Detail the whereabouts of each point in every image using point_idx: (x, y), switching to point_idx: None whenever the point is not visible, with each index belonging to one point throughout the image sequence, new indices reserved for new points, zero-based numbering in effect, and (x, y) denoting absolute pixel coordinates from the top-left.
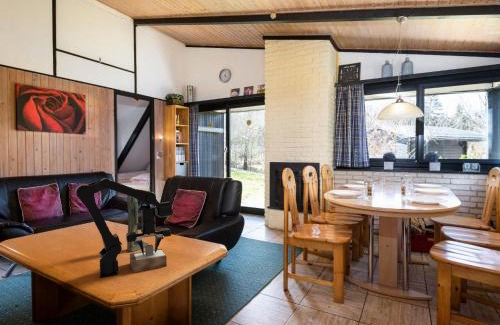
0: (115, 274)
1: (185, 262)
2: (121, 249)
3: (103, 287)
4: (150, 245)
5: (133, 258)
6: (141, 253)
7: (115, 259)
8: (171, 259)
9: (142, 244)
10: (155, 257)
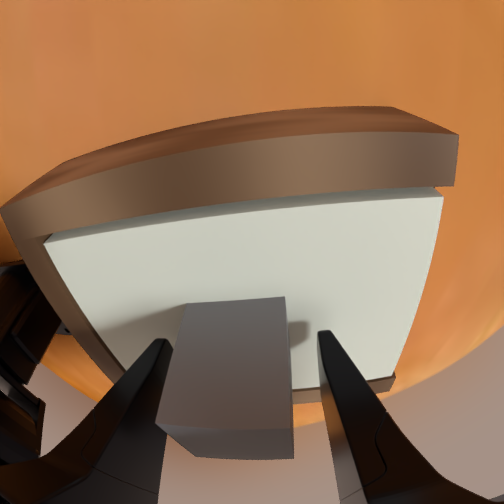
0: (70, 332)
1: (482, 298)
2: (39, 455)
3: (94, 390)
4: (253, 445)
5: (100, 355)
6: (120, 253)
7: (43, 408)
8: (456, 203)
9: (153, 498)
10: (300, 396)
